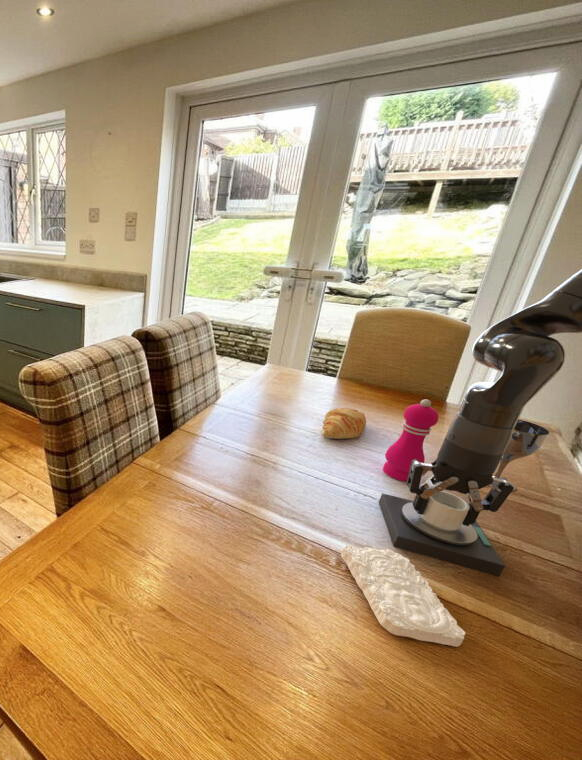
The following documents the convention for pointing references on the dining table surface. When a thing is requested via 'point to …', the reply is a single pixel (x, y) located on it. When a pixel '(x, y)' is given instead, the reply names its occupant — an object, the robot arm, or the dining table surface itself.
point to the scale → (438, 541)
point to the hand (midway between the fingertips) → (440, 516)
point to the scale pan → (458, 537)
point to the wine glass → (522, 444)
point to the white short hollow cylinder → (445, 511)
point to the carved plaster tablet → (401, 596)
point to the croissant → (343, 423)
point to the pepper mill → (410, 440)
